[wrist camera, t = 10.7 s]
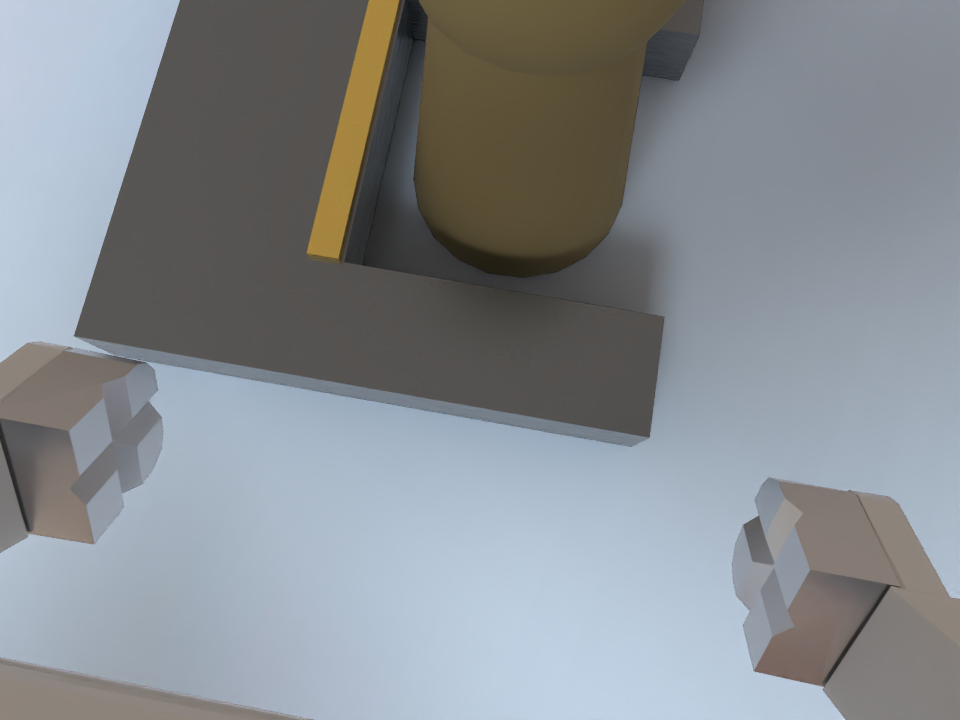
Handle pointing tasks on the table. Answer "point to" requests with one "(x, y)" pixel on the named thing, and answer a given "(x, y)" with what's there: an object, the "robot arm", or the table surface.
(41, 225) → the table surface
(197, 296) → the grey u-shaped bracket
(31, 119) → the table surface
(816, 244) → the table surface
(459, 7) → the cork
